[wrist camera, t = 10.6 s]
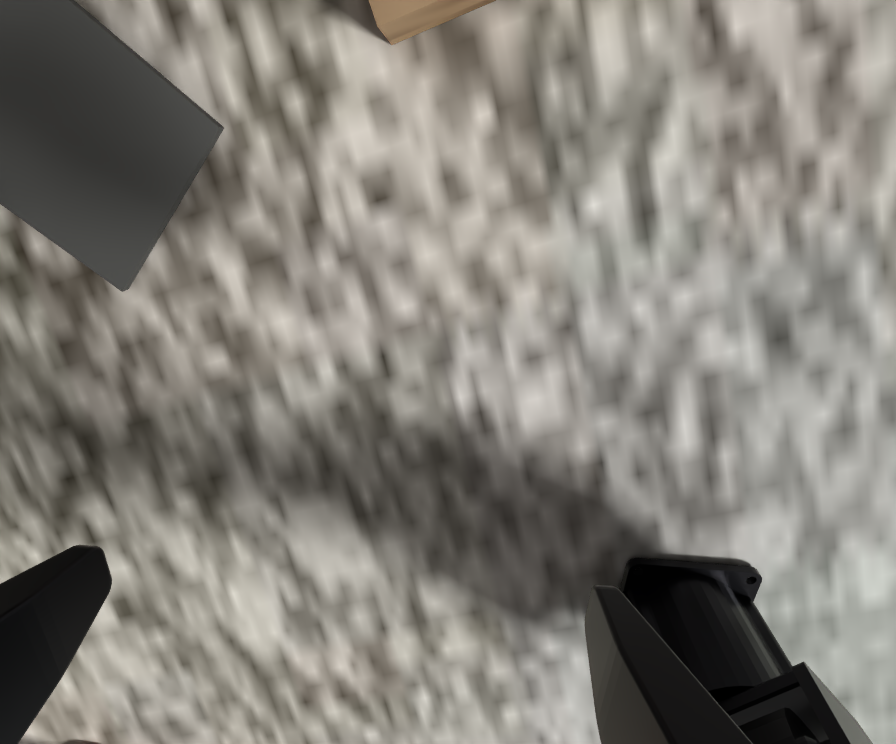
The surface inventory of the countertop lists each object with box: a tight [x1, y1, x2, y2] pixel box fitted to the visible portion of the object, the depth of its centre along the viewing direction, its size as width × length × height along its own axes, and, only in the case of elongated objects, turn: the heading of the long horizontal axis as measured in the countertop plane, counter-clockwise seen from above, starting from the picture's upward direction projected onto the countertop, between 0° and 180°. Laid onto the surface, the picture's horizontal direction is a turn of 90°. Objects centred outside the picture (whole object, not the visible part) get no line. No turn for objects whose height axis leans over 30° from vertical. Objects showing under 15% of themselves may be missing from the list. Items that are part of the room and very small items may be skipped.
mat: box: [0, 0, 224, 291], centre depth 18 cm, size 8×8×1 cm
